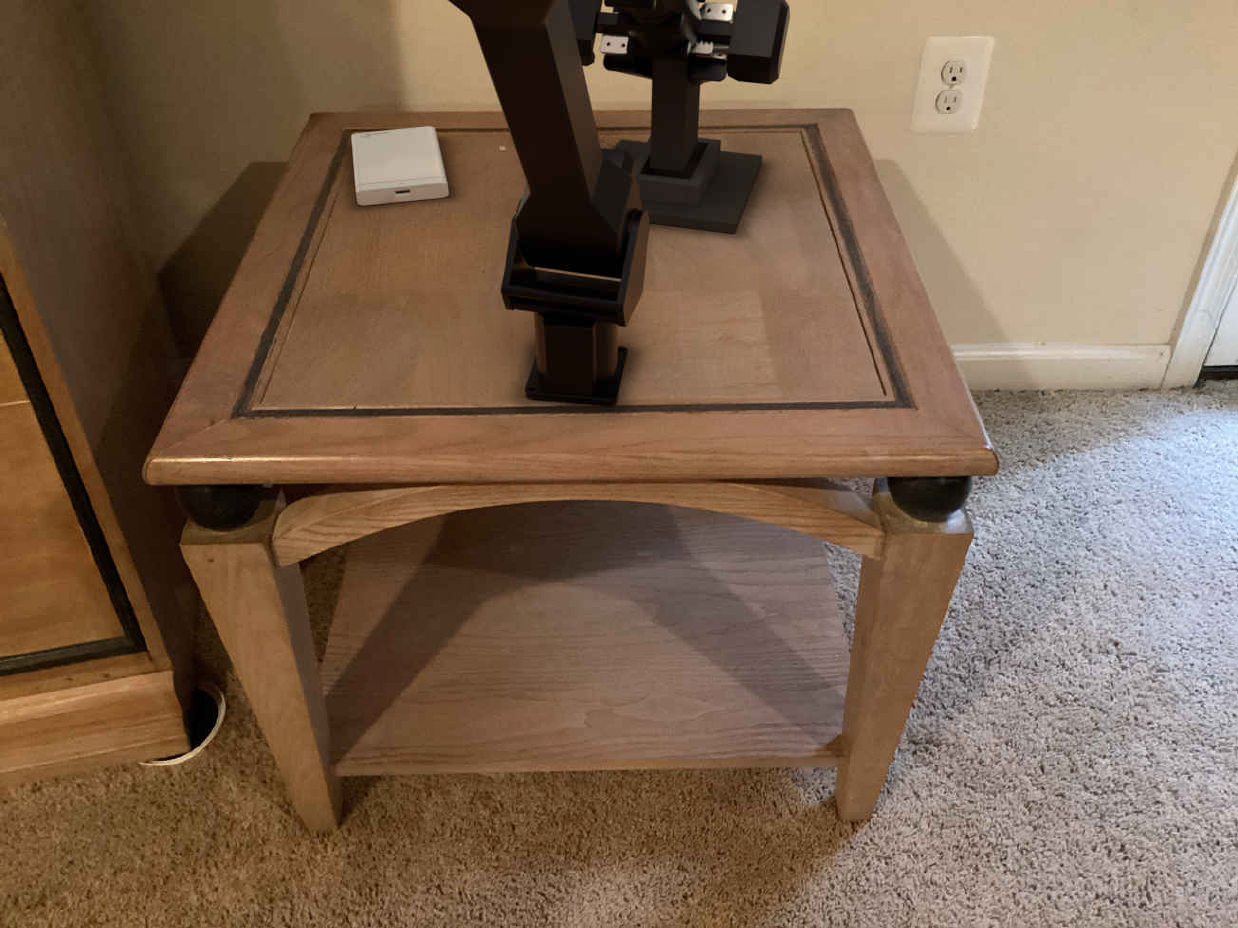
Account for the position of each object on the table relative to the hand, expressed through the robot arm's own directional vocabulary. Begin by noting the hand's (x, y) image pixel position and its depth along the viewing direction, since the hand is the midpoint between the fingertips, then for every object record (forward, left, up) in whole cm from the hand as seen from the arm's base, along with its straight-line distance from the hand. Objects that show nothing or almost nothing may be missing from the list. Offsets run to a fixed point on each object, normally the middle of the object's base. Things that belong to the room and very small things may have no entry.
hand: (680, 78), depth 93 cm
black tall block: (-1, 0, -7) cm, 7 cm away
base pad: (-1, 0, -10) cm, 10 cm away
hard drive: (-1, +26, -10) cm, 28 cm away
